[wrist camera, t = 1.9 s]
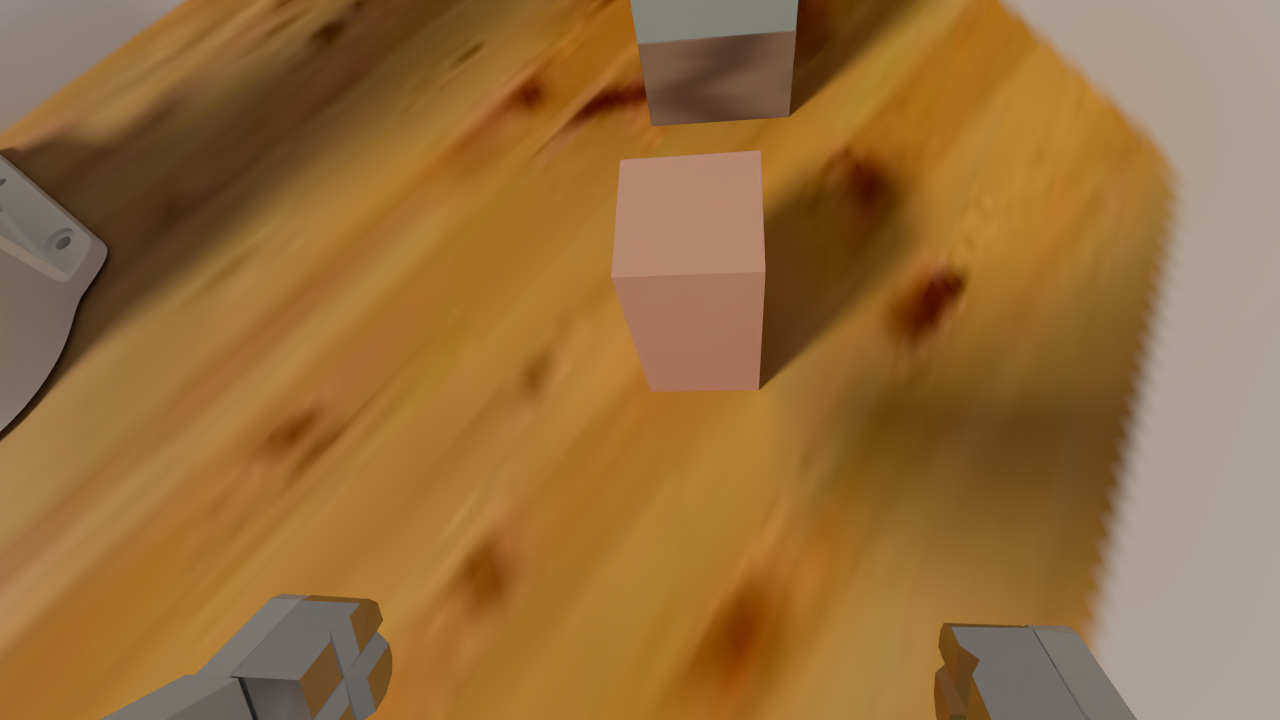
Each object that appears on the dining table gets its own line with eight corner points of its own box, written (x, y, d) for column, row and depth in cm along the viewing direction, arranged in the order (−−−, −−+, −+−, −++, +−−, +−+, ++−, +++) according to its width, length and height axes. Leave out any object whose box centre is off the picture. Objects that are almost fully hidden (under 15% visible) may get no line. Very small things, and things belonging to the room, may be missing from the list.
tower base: (652, 127, 33) (638, 45, 29) (657, 34, 36) (646, -54, 32) (788, 118, 32) (796, 31, 28) (783, 23, 35) (789, -70, 31)
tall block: (650, 391, 27) (611, 277, 19) (654, 299, 29) (620, 159, 21) (758, 390, 26) (765, 271, 18) (755, 295, 28) (760, 150, 20)
